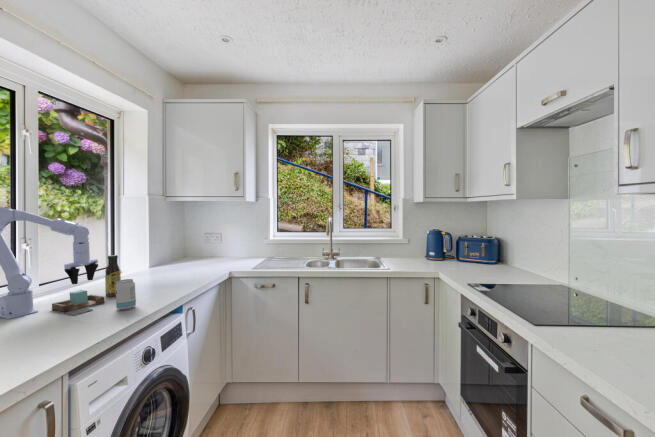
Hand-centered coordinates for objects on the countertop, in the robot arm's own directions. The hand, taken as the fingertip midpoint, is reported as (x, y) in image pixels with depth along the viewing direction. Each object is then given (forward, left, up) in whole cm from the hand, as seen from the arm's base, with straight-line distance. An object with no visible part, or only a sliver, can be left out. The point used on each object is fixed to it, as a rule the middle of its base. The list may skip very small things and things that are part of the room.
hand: (82, 282), depth 139 cm
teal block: (-3, -3, -8) cm, 9 cm away
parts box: (-3, -3, -10) cm, 11 cm away
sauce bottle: (+14, +2, -10) cm, 17 cm away
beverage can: (+3, -26, -10) cm, 28 cm away
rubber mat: (-8, -12, -10) cm, 17 cm away
